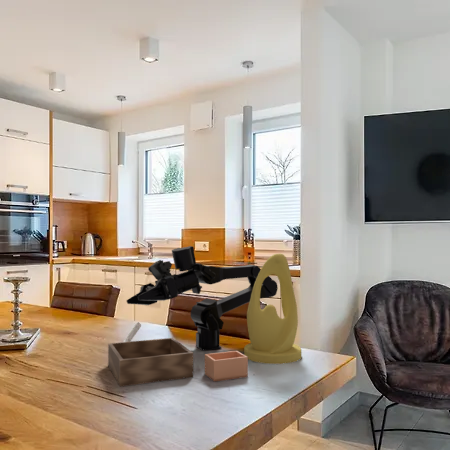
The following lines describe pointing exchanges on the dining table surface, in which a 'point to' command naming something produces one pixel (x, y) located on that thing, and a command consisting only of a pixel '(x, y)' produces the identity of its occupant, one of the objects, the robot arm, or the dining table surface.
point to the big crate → (149, 361)
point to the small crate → (226, 365)
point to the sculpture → (273, 319)
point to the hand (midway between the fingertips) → (132, 300)
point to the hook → (133, 332)
